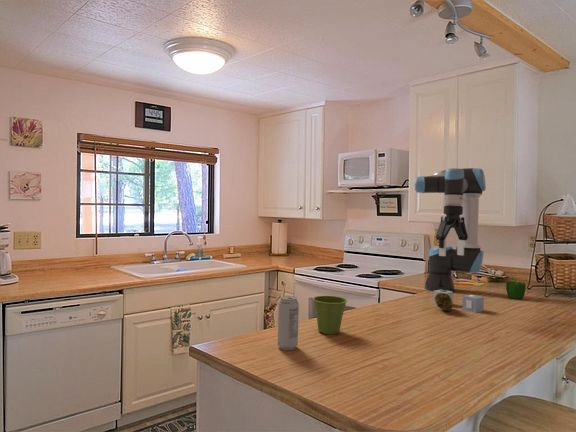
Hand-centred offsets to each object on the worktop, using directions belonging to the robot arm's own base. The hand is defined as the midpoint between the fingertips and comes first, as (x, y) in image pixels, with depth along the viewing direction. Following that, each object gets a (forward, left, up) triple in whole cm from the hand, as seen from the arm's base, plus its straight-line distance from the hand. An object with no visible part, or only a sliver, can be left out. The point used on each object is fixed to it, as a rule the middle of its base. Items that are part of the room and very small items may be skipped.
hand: (451, 255), depth 183 cm
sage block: (-9, +9, -24) cm, 27 cm away
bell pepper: (+2, +53, -24) cm, 58 cm away
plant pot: (-3, -65, -24) cm, 69 cm away
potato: (-2, -2, -24) cm, 24 cm away
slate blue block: (+5, +10, -24) cm, 26 cm away
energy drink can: (+3, -87, -24) cm, 90 cm away
